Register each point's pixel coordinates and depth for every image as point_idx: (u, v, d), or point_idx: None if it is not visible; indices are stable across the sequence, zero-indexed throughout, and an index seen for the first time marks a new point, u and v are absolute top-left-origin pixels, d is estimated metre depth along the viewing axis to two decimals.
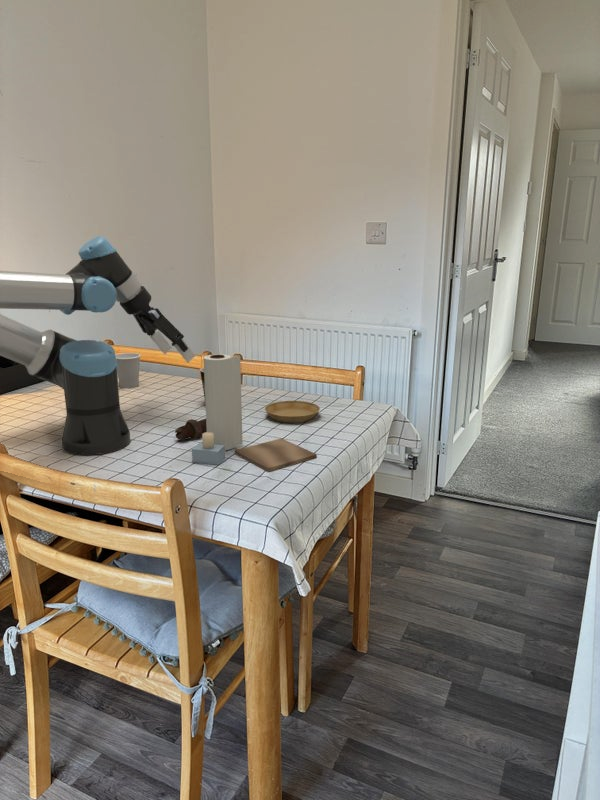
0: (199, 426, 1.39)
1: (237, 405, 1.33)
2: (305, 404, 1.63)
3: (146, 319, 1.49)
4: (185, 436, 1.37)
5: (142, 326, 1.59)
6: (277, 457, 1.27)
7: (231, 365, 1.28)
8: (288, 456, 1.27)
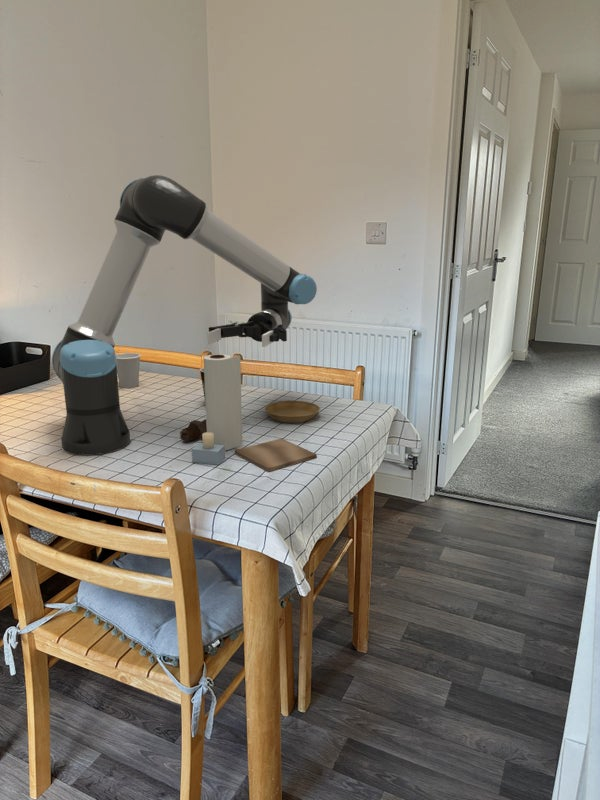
0: (203, 426, 1.39)
1: (237, 405, 1.33)
2: (305, 404, 1.63)
3: None
4: (191, 437, 1.37)
5: (220, 327, 1.48)
6: (277, 457, 1.27)
7: (231, 365, 1.28)
8: (288, 456, 1.27)
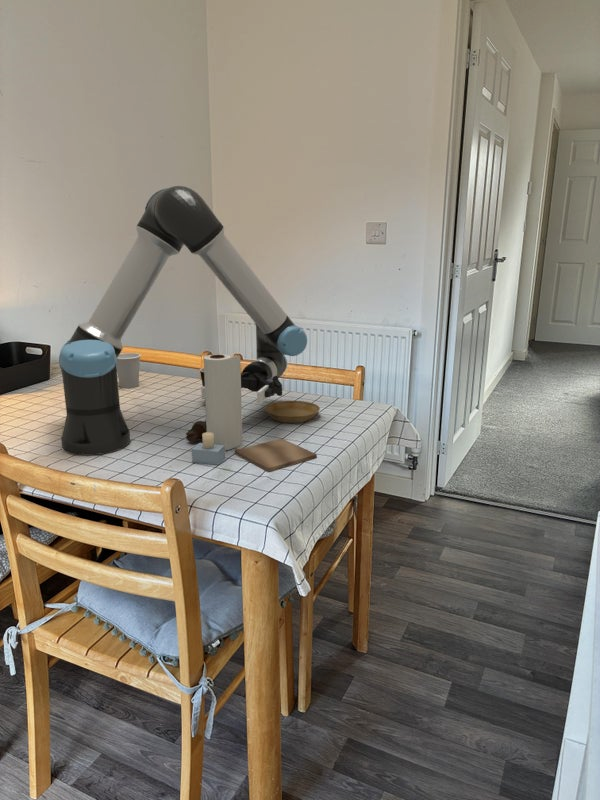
0: None
1: (237, 405, 1.33)
2: (305, 404, 1.63)
3: None
4: (198, 438, 1.36)
5: None
6: (277, 457, 1.27)
7: (231, 365, 1.28)
8: (288, 456, 1.27)
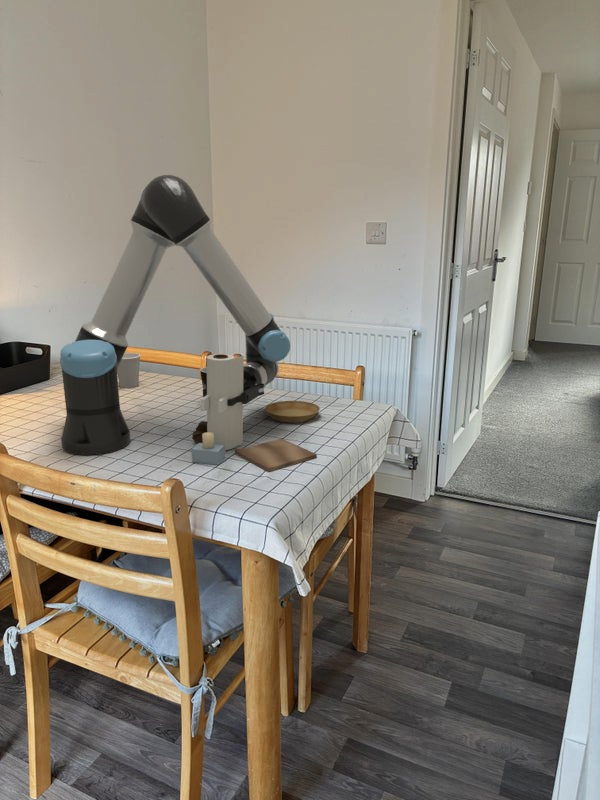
0: None
1: (239, 406, 1.33)
2: (305, 404, 1.63)
3: (245, 381, 1.40)
4: None
5: None
6: (277, 457, 1.27)
7: (234, 365, 1.28)
8: (288, 456, 1.27)
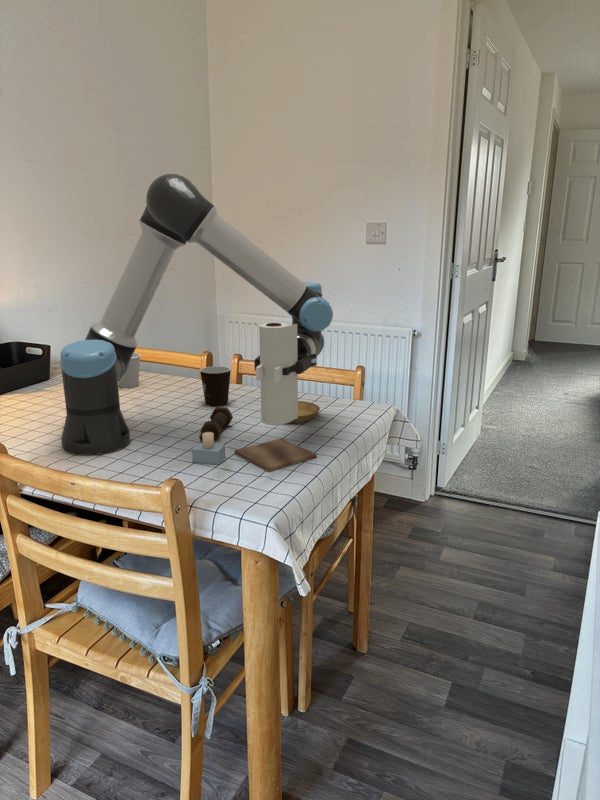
0: (218, 426, 1.39)
1: (293, 377, 1.25)
2: (305, 404, 1.63)
3: None
4: None
5: None
6: (277, 457, 1.27)
7: (288, 333, 1.21)
8: (288, 456, 1.27)
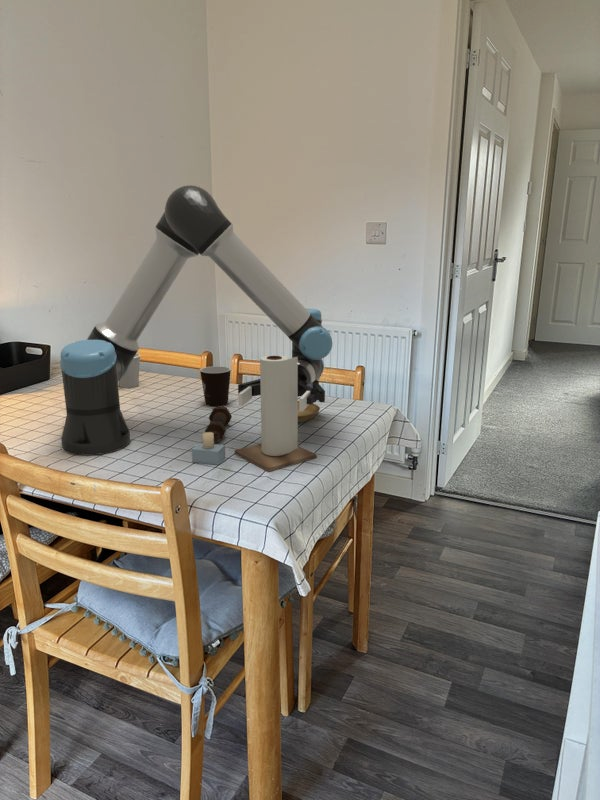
0: (223, 426, 1.40)
1: (293, 409, 1.28)
2: None
3: None
4: (220, 437, 1.37)
5: (250, 384, 1.34)
6: (277, 457, 1.27)
7: (289, 366, 1.23)
8: (288, 456, 1.27)
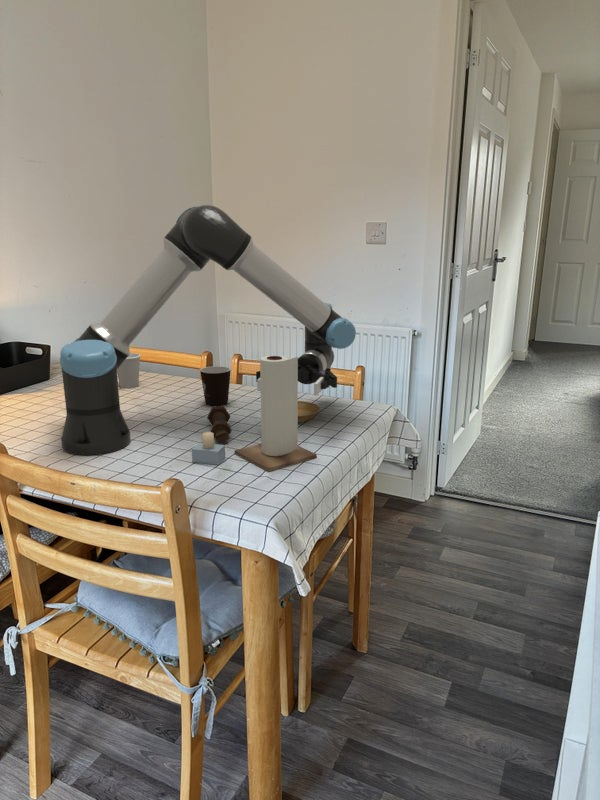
0: (228, 425, 1.41)
1: (293, 409, 1.28)
2: (305, 404, 1.63)
3: None
4: None
5: None
6: (277, 457, 1.27)
7: (289, 367, 1.23)
8: (288, 456, 1.27)
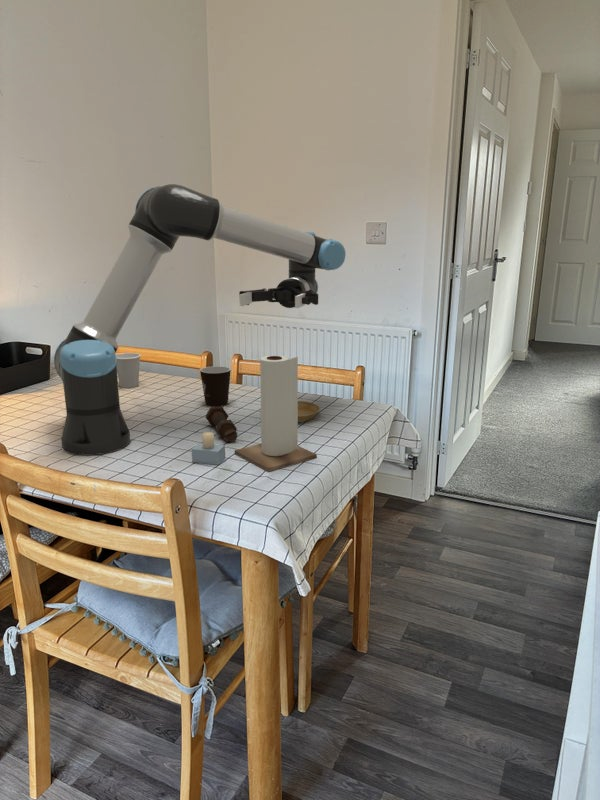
0: None
1: (293, 409, 1.28)
2: (305, 404, 1.63)
3: None
4: None
5: (250, 291, 1.48)
6: (277, 457, 1.27)
7: (289, 367, 1.23)
8: (288, 456, 1.27)
